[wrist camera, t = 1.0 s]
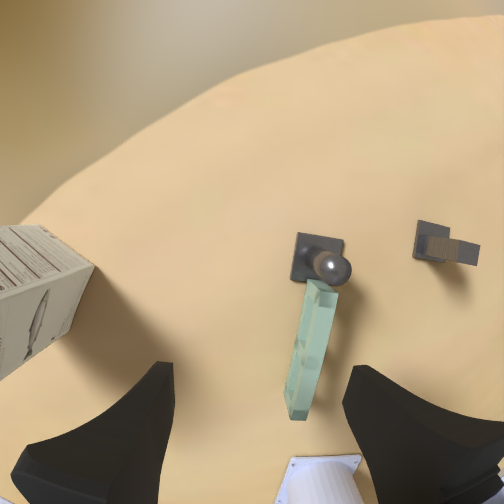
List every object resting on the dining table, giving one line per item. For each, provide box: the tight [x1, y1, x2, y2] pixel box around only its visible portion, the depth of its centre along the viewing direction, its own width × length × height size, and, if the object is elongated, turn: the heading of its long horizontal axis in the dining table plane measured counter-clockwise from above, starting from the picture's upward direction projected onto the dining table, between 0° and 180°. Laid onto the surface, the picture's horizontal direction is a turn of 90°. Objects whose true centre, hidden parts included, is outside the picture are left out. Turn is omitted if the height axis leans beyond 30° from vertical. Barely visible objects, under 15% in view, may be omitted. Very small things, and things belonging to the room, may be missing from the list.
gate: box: [284, 279, 339, 421], centre depth 21 cm, size 10×1×4 cm, turn 171°
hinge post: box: [290, 232, 352, 286], centre depth 21 cm, size 4×4×6 cm
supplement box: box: [0, 224, 95, 381], centre depth 17 cm, size 7×7×13 cm
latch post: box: [412, 220, 480, 266], centre depth 21 cm, size 3×4×6 cm
